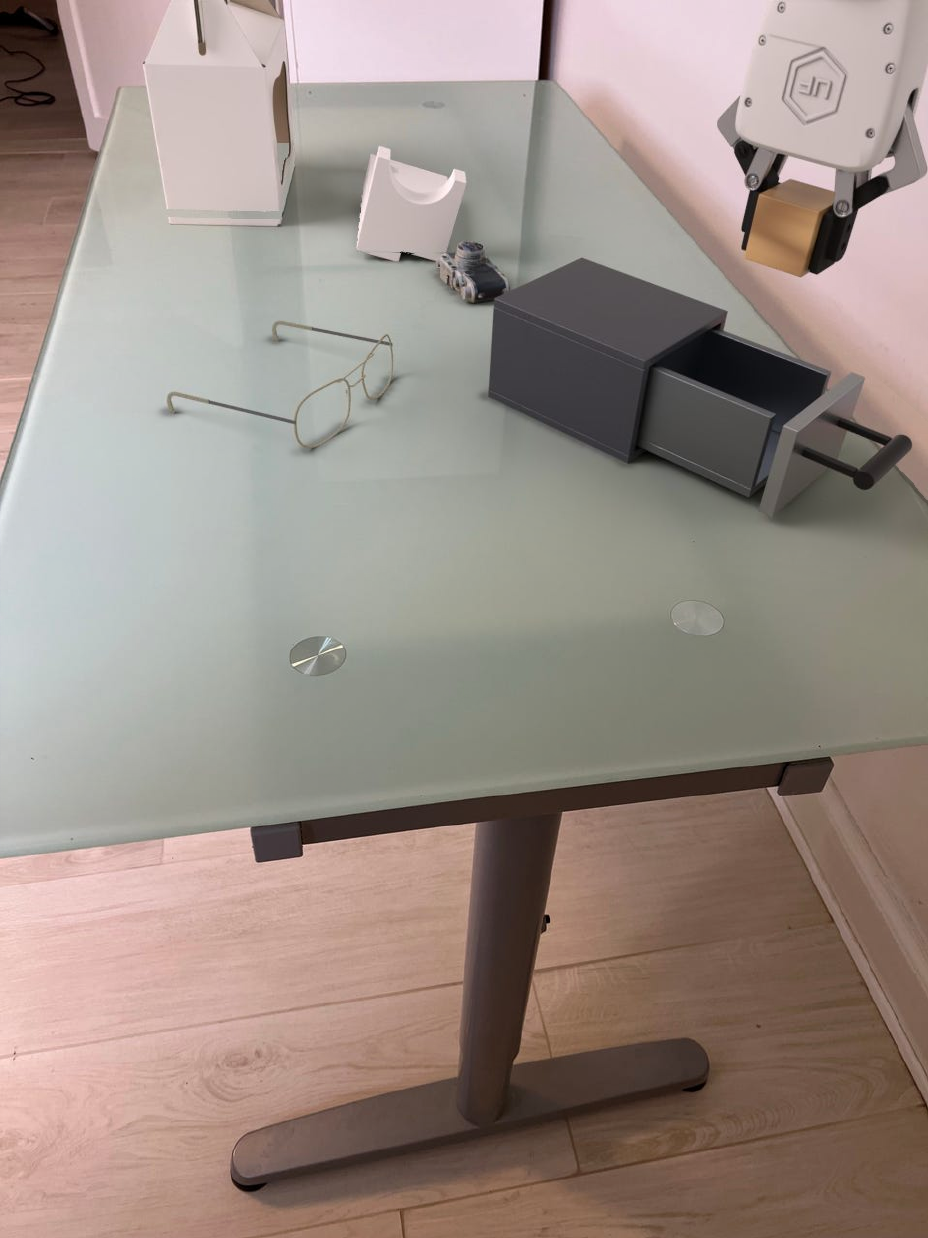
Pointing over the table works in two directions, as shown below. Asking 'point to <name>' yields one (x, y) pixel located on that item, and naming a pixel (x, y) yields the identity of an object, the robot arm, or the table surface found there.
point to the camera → (472, 273)
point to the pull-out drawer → (755, 419)
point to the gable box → (220, 108)
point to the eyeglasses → (275, 338)
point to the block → (788, 226)
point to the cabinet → (589, 349)
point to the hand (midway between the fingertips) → (788, 253)
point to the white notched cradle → (407, 208)
